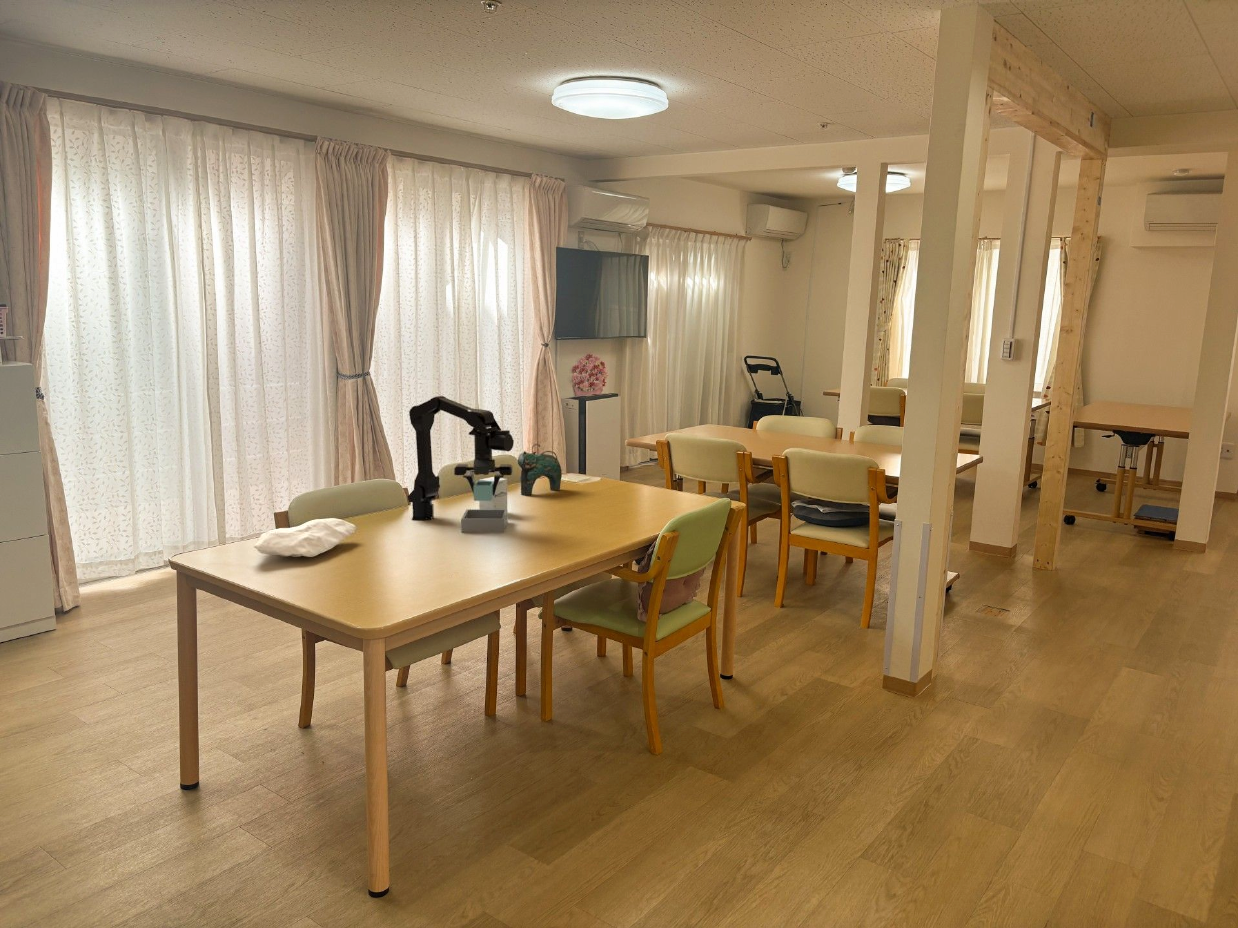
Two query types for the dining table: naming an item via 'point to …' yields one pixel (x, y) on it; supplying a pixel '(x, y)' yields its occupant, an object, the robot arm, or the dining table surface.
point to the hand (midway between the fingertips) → (484, 495)
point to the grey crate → (484, 520)
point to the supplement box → (496, 496)
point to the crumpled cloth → (305, 538)
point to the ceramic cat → (538, 470)
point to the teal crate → (483, 491)
